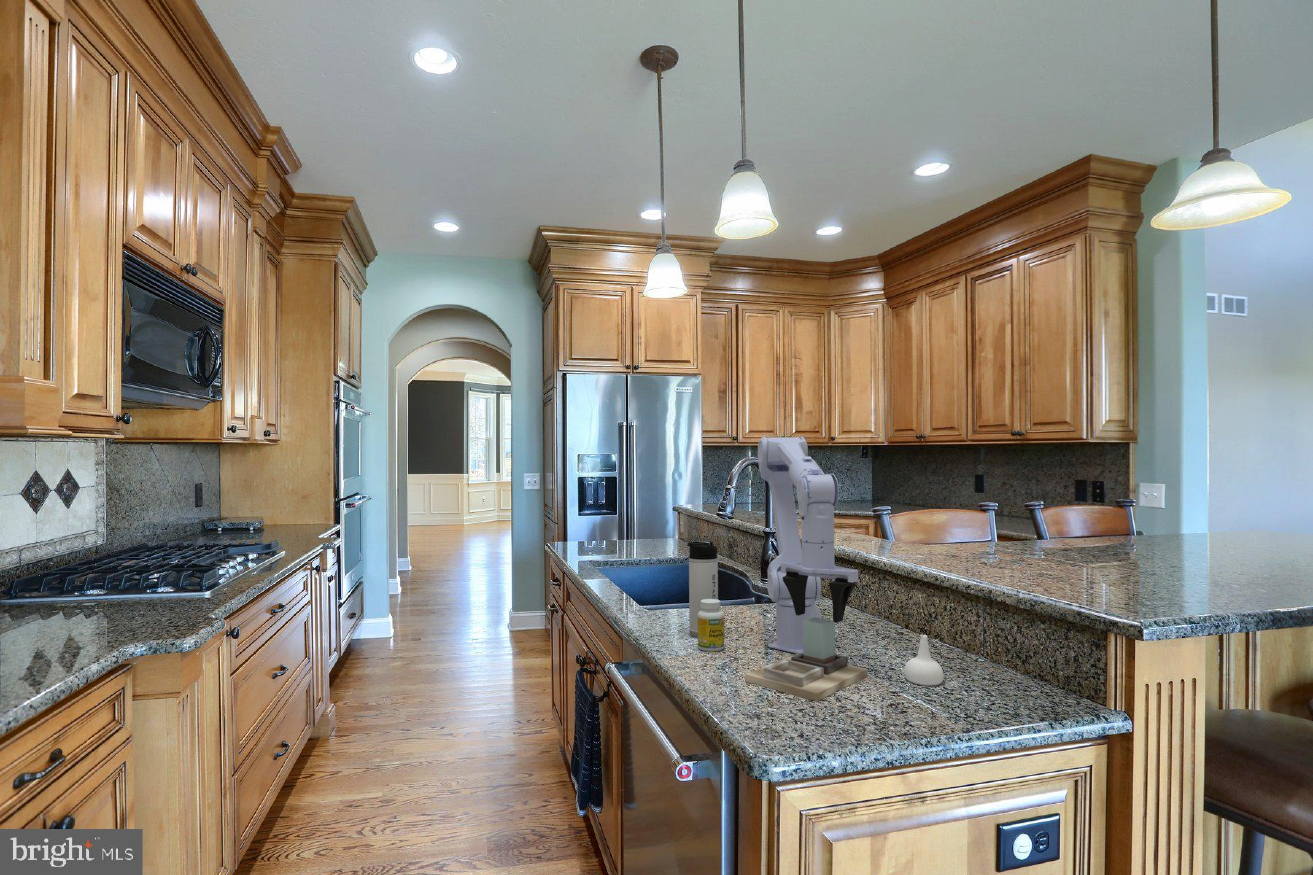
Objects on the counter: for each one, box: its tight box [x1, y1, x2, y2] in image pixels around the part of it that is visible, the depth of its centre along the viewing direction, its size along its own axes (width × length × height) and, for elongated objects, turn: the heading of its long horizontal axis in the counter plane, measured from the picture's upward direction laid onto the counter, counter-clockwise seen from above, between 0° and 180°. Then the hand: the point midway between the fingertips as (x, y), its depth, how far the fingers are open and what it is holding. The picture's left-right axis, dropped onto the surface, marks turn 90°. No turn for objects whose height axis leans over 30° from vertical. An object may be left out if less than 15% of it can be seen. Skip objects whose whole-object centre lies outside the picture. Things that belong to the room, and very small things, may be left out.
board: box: [744, 653, 869, 702], centre depth 115 cm, size 17×14×3 cm
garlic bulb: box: [903, 634, 945, 687], centre depth 114 cm, size 6×6×8 cm
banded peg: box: [803, 617, 836, 664], centre depth 118 cm, size 4×4×8 cm
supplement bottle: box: [697, 599, 725, 653], centre depth 134 cm, size 5×5×10 cm
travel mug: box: [687, 541, 719, 639], centre depth 145 cm, size 6×7×20 cm
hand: (818, 617), depth 119 cm, fingers open, 7 cm apart
